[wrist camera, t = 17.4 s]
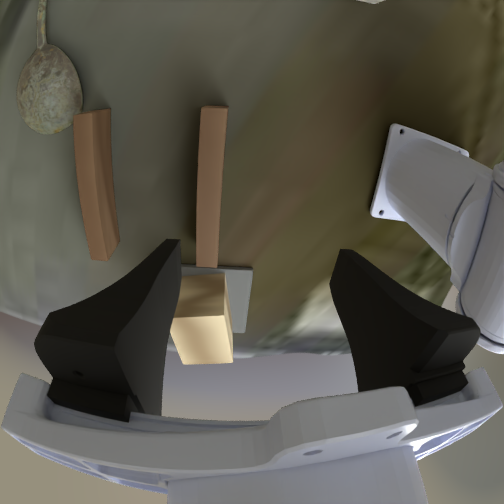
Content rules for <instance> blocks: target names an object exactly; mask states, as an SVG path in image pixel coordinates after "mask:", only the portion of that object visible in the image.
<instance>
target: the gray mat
mask: <svg viewBox="0 0 504 504" xmlns="http://www.w3.org/2000/svg"><path fill="white" fill-rule="evenodd" d="M181 271H182V276H192V275H206V274H220V273H225V276H226V283H227V290H228V297H229V304H230V310H231V317H232V332H233V333H245V328H246V321H247V313H248V306H249V298H250V291H251V283H252V275H253V268H245V267H225V266H217V268H212V267H196V265H188V264H181Z"/></svg>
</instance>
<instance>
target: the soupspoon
mask: <svg viewBox="0 0 504 504" xmlns="http://www.w3.org/2000/svg"><path fill="white" fill-rule="evenodd" d="M46 6H47V0H40V1H39V8H38V17H37V50H36V51H35V52H34V53H33V54H32V56H31V57H30V58H29V60H28V61H27V62H26V64H25V66H24V68H23V70H22V73H21V75H20V78H19V81H18V85H17V103H18V108H19V111H20V113H21V116H22V118H23V119H24V121H25V122H26V124H27V125H28V126H29V127H30V128H32V129H33V130H34V131H36V132H38V133H41V134H54V133H58V132H60V131H62V130H64V129H66V128H67V127H68V126H70V125H71V124H72V123H73V115H77V114H80V113H81V112H82V109H83V95H82V94H83V93H82V88H81V84H80V80H79V77H78V74H77V71H76V69H75V67H74V66H73V64H72V62H71V60H70V59H69V58H68V56H67V55H66V54H65V53H64V52H63V51H62V50H60V49H59V48H58V47H56V46H54V45H51V44H47V38H46Z"/></svg>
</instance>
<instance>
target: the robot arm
mask: <svg viewBox="0 0 504 504" xmlns="http://www.w3.org/2000/svg"><path fill="white" fill-rule="evenodd" d="M400 129H402V133H401V134H400ZM458 151H459V153H458ZM380 210H382V212H381V213H379V211H380ZM370 214H371V215H372V216H373V217H377V218H385V219H392V220H400V221H406V222H407V223H408V224H409V225H410V226H411V227H412V228H413V229H414V230H415V231H416V232H417V233H418V234H419V235H420V236H421V237H422V238H423V239H424V240H425V241H426V242H427V243H428V244H429V245H430V246H431V247H432V248H433V249H434V250H435V251H436V252H437V253H438V254H439V255H440V256H441V257H442V258H443V260H444V261H445V262H446V263H447V264H448V265H449V266H450V267H451V270H452V274H451V278H450V281H451V282H452V283H453V284H454V286H455V287H456V288H457V289H458V290H459V293H458V296H457V299H456V313H455V312H452V311H450V310H447V309H445V308H442V307H440V306H438V305H435V304H433V303H431V302H429V301H427V300H425V299H423V298H422V297H420V296H418V295H416V294H415V293H413V292H411V291H410V290H408V289H406V288H405V287H403V286H402V285H400V284H399V283H397V282H396V281H395V280H393V279H392V278H390V277H389V276H388V275H386V274H385V273H384V272H382V271H381V270H380V269H378V268H377V267H376V266H374V265H373V264H372V263H370V262H369V261H368V260H366V259H365V258H364V257H362V256H361V255H360V254H358V253H357V252H355V251H353V250H349V249H340V251H339V255H338V258H337V261H336V264H335V268H334V271H333V274H332V277H331V280H330V283H329V285H330V289H331V294H332V298H333V302H334V305H335V307H336V310H337V312H338V315H339V318H340V320H341V323H342V325H343V328H344V330H345V333H346V336H347V338H348V341H349V345H350V348H351V352H352V357H353V361H354V366H355V372H356V377H357V384H358V393H351V394H344V395H336V396H328V397H319V398H312V399H307V400H302V401H297V402H295V403H293V404H290V405H287V406H285V407H282V408H281V409H280V410H279V411H278V412H277V413H276V414H274V415H273V417H271V419H270V420H265V421H217V420H197V419H184V418H173V417H164V416H161V410H162V390H163V375H164V366H165V356H166V349H167V342H168V337H169V333H170V329H171V325H172V322H173V318H174V314H175V310H176V307H177V303H178V299H179V294H180V287H181V280H182V271H181V249H180V240H177V239H166V240H165V241H164V242H163V243H162V244H160V245H159V246H158V247H157V248H156V249H155V250H154V251H153V252H152V253H151V254H150V255H149V256H148V257H147V258H146V259H145V260H144V261H142V262H141V263H140V264H139V265H138V266H137V267H135V268H134V269H133V270H132V271H131V272H129V273H128V274H127V275H125V276H124V277H123V278H121V279H120V280H118V281H117V282H115V283H114V284H112V285H111V286H109V287H107V288H105V289H104V290H102V291H100V292H98V293H97V294H95V295H93V296H91V297H89V298H87V299H85V300H83V301H80V302H78V303H76V304H73V305H71V306H68V307H65V308H62V309H59V310H57V311H54V312H50V313H49V315H48V316H47V318H46V320H45V322H44V324H43V325H42V327H41V329H40V331H39V333H38V335H37V337H36V339H35V342H34V346H35V350H36V352H37V354H38V356H39V358H40V360H41V361H42V362H43V364H44V365H45V367H46V368H47V370H48V371H49V372H50V374H51V375H52V377H53V380H52V383H51V385H50V384H48V383H47V382H45V381H44V380H41V379H38V378H36V377H32V376H30V375H27V374H24V373H21V374H20V376H19V379H18V381H17V383H16V386H15V388H14V391H13V393H12V396H11V399H10V401H9V404H8V407H7V410H6V413H5V416H4V419H3V422H2V425H1V427H2V429H3V430H4V431H6V432H7V433H8V434H9V435H11V436H12V437H13V438H15V439H16V440H17V441H19V442H20V443H22V444H23V445H24V446H26V447H27V448H29V449H30V450H32V451H33V452H35V453H36V454H38V455H41V456H43V457H45V458H47V459H50V460H52V461H54V462H57V463H59V464H62V465H64V466H67V467H69V468H72V469H75V470H77V471H80V472H83V473H86V474H89V475H92V476H95V477H98V478H101V479H104V480H108V481H111V482H114V483H118V484H122V485H125V486H129V487H134V488H138V489H143V490H147V491H152V492H157V493H163V494H168V496H167V504H429V503H428V499H427V495H426V491H425V488H424V484H423V481H422V477H421V474H420V470H419V467H418V464H417V460H419V459H421V458H423V457H425V456H427V455H429V454H432V453H434V452H436V451H438V450H440V449H442V448H444V447H446V446H447V445H449V444H451V443H453V442H455V441H457V440H458V439H461V438H462V437H464V436H466V435H468V434H469V433H471V432H472V431H474V430H475V429H476V428H478V427H479V426H480V425H481V424H483V423H484V422H485V421H487V419H489V418H490V417H491V416H493V415H494V414H495V413H496V412H497V411H498V410H500V409H501V408H502V407H503V404H502V402H501V400H500V398H499V396H498V394H497V392H496V390H495V388H494V386H493V384H492V382H491V380H490V378H489V377H488V375H487V373H486V371H485V369H484V368H483V367H481V368H478V369H475V370H472V371H470V372H468V373H467V374H466V375H464V373H463V371H462V370H463V369H464V368H465V364H464V363H463V360H464V358H465V357H466V356H467V355H468V354H469V353H470V351H471V350H472V349H473V347H474V346H475V345H476V343H477V344H478V345H480V346H481V347H483V348H484V349H487V350H489V351H491V352H495V353H500V354H504V161H502V162H501V163H500V164H496V165H495V166H494V168H493V170H492V169H490V168H488V167H486V166H485V165H483V164H481V163H479V162H477V161H475V160H473V159H471V158H469V153H468V151H466V150H464V149H462V148H459V147H457V146H455V145H452V144H450V143H448V142H445V141H443V140H440V139H438V138H435V137H433V136H430V135H428V134H425V133H422V132H419V131H417V130H414V129H411V128H408V127H405V126H402V125H399V124H395V123H394V124H392V125H391V126H390V130H389V135H388V139H387V144H386V149H385V153H384V158H383V162H382V166H381V170H380V174H379V178H378V182H377V186H376V190H375V193H374V197H373V201H372V204H371V208H370Z"/></svg>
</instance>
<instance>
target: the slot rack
mask: <svg viewBox="0 0 504 504" xmlns="http://www.w3.org/2000/svg"><path fill="white" fill-rule="evenodd" d="M228 107H229V106H210V105H206V106H204V107H202V108H201V120H200V135H199V154H198V178H197V220H196V267H212V268H217V262H218V248H219V229H220V211H221V195H222V180H223V166H224V153H225V140H226V129H227V117H228ZM73 129H74V148H75V161H76V172H77V181H78V189H79V196H80V203H81V210H82V216H83V221H84V227H85V232H86V237H87V242H88V246H89V251H90V255H91V259H92V260H101V261H108V260H109V258H110V257H111V255H112V253H113V252H114V250H115V248H116V247H117V245H118V243H119V242H120V237H119V230H118V223H117V215H116V206H115V196H114V186H113V172H112V155H111V108H110V109H100V110H93V111H89V112H84V113H80V114H77V115H73Z"/></svg>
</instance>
